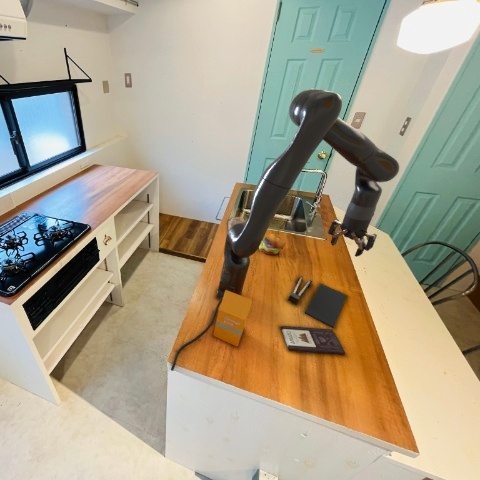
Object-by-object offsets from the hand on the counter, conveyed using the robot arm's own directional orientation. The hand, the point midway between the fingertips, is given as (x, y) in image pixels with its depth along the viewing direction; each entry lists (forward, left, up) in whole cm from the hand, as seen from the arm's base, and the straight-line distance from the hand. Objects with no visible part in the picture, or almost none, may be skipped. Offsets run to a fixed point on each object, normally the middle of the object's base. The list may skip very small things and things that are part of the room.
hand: (345, 249), depth 97 cm
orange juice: (-47, +19, -21) cm, 55 cm away
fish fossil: (+17, +50, -21) cm, 57 cm away
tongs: (-9, +7, -21) cm, 24 cm away
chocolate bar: (-30, -4, -21) cm, 37 cm away
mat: (-9, -3, -21) cm, 23 cm away
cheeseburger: (+11, +28, -21) cm, 37 cm away
